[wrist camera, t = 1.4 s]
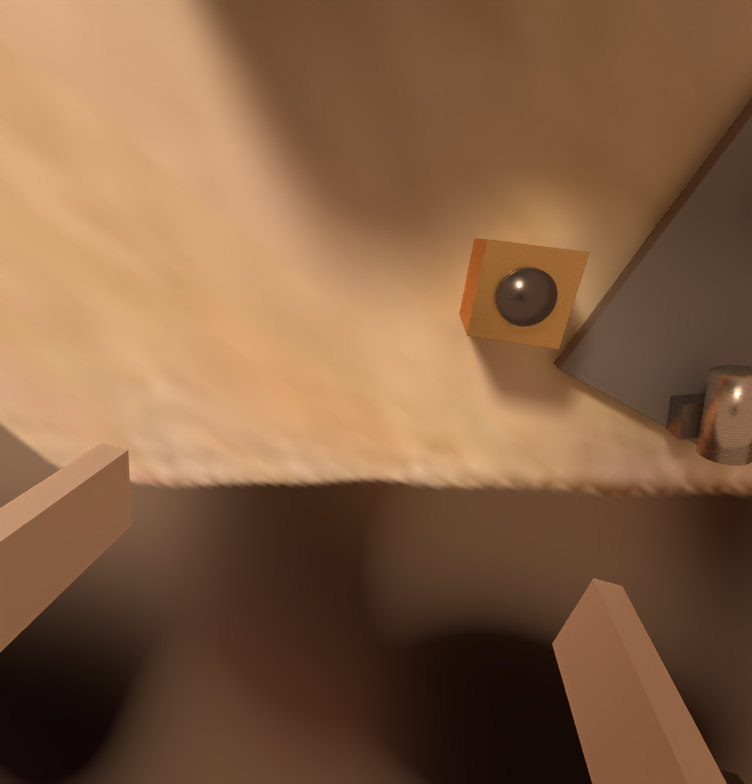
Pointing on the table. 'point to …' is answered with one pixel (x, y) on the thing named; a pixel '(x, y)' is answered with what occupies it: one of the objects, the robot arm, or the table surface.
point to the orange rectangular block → (520, 292)
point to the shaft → (717, 416)
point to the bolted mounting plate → (679, 293)
